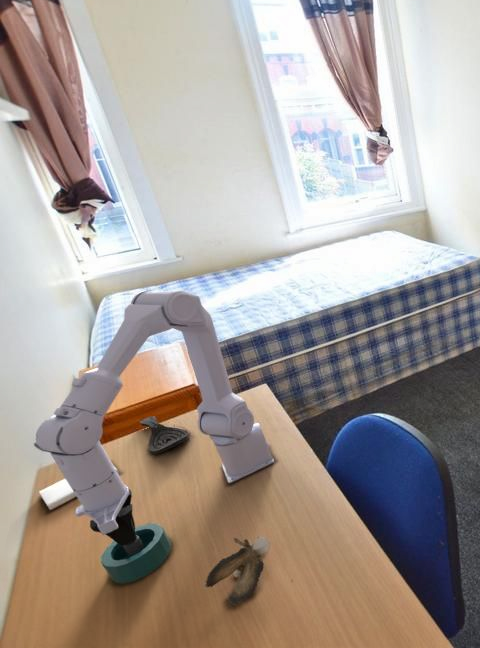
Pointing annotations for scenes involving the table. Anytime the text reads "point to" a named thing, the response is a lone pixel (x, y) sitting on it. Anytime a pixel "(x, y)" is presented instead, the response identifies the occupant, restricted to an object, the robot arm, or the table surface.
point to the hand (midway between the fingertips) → (128, 537)
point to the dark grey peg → (134, 547)
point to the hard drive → (58, 493)
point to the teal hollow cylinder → (137, 555)
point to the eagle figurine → (241, 569)
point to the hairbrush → (163, 435)
